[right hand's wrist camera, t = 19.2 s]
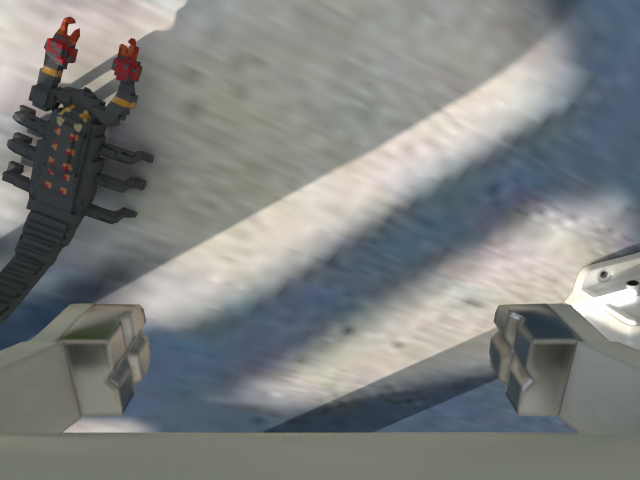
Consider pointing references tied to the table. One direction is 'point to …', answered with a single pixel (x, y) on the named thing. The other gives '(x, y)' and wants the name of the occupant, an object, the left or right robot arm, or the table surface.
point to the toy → (65, 162)
